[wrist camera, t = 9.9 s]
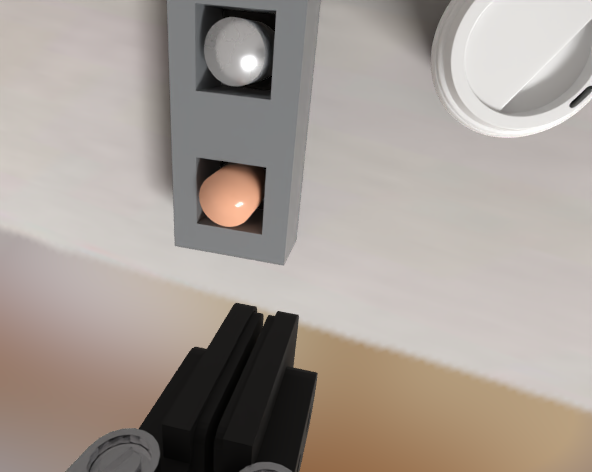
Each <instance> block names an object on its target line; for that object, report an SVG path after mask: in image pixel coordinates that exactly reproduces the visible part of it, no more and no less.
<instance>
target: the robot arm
mask: <svg viewBox="0 0 592 472" xmlns="http://www.w3.org/2000/svg"><path fill="white" fill-rule="evenodd" d="M298 320H299V316H298V315H296V314H291V313H286V312H281V311H278V312H277V313H276V315H275V316H272V315H268V317H267V319H266V322H265V324H264V326H263V314H261V313H257V307H255V306H250V305H245V304H240V303H235V304H234V305H233V307H232V308H231V310H230V312H229V314H228V315H227V317H226V319H225V320H224V322H223V323H222V325H221V327H220V328H219V330H218V332H217V333H216V335H215V337H214V338H213V340H212V342H211V343H210V345H209V346H208V348H207V349H204V348H199V347H194V348H192V349H191V351H190V352H189V353H188V355H187V356H186V358H185V359H184V361H183V362H182V364H181V365H180V367H179V368H178V370H177V371H176V373H175V374H174V376H173V377H172V379H171V381H170V382H169V384H168V385H167V387H166V388H165V390H164V391H163V393H162V394H161V396H160V397H159V399H158V400H157V402H156V403H155V405H154V406H153V408H152V409H151V411H150V412H149V414H148V415H147V417H146V418H145V420H144V422H143V423H142V425H141V426H140V428H139V429H135V428H131V429H130V428H129V429H120V430H117V431H113V432H110V433H108V434H106V435H104V436H102V437H101V438H99V439H98V440H96V441H95V442H94V443H93V444H92V445H90V446H89V447H88V448H87V449H86V450H85V451H84V452H83V453H82V455H81V456H80V457H79V458H78V459H77V460H76V461H75V462H74V463H73V464H72V465H71V466H70V467H69V468H68V469H67V470H66V471H65V472H299V471H300V466H301V462H302V457H303V452H304V447H305V443H306V438H307V433H308V429H309V424H310V419H311V413H312V407H313V401H314V396H315V389H316V381H317V373H316V372H311V371H307V370H302V369H297V368H293V365H294V356H295V347H296V338H297V329H298Z"/></svg>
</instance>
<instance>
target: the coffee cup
mask: <svg viewBox="0 0 592 472" xmlns="http://www.w3.org/2000/svg"><path fill="white" fill-rule="evenodd" d="M431 73H432V79H433V83H434V87H435V90H436V92H437V95H438V97H439V99H440V101H441V102H442V104H443V106H444V107H445V108H446V110H447V111H448V112H449V113H450V115H451V116H452V117H453V118H455V119H456V120H457V121H458V122H459V123H461V124H462V125H464V126H465V127H467V128H469V129H471V130H473V131H475V132H478V133H480V134H484V135H487V136H492V137H500V138H513V137H522V136H527V135H532V134H536V133H539V132H542V131H545V130H547V129H550V128H552V127H554V126H556V125H558V124H560V123H562V122H564V121H565V120H567V119H568V118H570V117H571V116H573V115H574V114H575V113H577V112H578V111H579V110H580V109H582V108H583V107H584V106H585V105H586V104H587V103H588V102H589V101H590V100H591V99H592V0H451V2H450V3H449V5H448V6H447V8H446V10H445V11H444V13H443V15H442V17H441V19H440V22H439V24H438V26H437V29H436V32H435V36H434V39H433V44H432V51H431Z"/></svg>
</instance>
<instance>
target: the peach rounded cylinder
mask: <svg viewBox="0 0 592 472" xmlns="http://www.w3.org/2000/svg"><path fill="white" fill-rule="evenodd" d="M265 180H266V171H265V170H264V168H263V167H260V166H253V165H246V164H239V163H232V162H229V163H228V164H226V165H225V166H223V167H222V168H221V169H219V170H218V171H216V172H215V173H214V174H212V175H211V176H210V177H208V178H207V179H206V180H205V181H204V182H203V184H202V186H201V188H200V192H199V200H200V204H201V207H202V209H203V211H204V213H205V214H206V215H207V216H208V217H209V218H210V219H211V220H212V221H213V222H215V223H217V224H219V225H222V226H226V227H233V226H238V225H240V224H242V223H244V222H245V221H246V220H247V219H248V218H249V217H250V216H251V214H252V213H253V212H254V211H255V210H256V208H257V207H258V206H259V205H260V203H261V202H262V201H263V200H264V196H265Z"/></svg>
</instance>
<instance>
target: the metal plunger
mask: <svg viewBox="0 0 592 472" xmlns="http://www.w3.org/2000/svg"><path fill="white" fill-rule="evenodd" d="M274 38H275V32H274V31H273V30H272V29H271V28H270V27H269V26H267V25H266V24H264V23H262V22H258V21H253V20H248V19H243V18H237V17H228V18H224V19H221V20H219V21H218V22H216V23H215V24H214V25H213V26H212V27H211V28H210V30H209V32H208V34H207V36H206V39H205V43H204V56H205V61H206V64H207V66H208V68H209V70H210V71H211V73H212V74H213V75H214V76H215V78H217V79H218V80H219V81H221V82H222V83H224V84H226V85H229V86H243V85H247V84H251V83H254V82H258V81H262V80H265V79H267V78H268V77H270V76H271V75H272V70H273V54H274Z"/></svg>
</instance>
